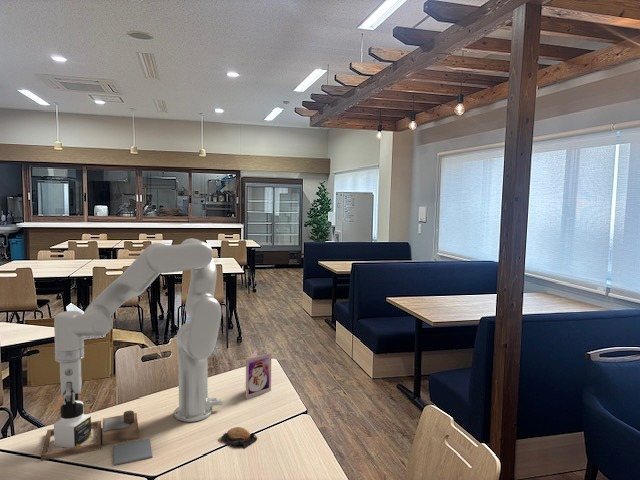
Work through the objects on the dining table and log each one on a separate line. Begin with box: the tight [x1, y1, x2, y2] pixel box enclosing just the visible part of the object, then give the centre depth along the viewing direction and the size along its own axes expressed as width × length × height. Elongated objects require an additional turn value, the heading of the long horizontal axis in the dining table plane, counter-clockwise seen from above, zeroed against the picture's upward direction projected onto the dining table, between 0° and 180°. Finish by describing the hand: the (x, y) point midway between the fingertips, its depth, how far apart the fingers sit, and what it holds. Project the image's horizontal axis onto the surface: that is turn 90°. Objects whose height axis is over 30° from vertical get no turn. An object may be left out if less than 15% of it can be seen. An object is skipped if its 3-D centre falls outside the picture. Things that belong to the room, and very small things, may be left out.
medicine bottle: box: [53, 400, 92, 449], centre depth 135 cm, size 7×7×12 cm
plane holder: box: [40, 410, 140, 461], centre depth 138 cm, size 26×15×6 cm, turn 115°
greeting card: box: [245, 349, 272, 400], centre depth 171 cm, size 11×7×15 cm, turn 132°
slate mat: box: [113, 437, 154, 466], centre depth 131 cm, size 10×10×1 cm
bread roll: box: [217, 426, 258, 449], centre depth 139 cm, size 11×8×4 cm
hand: (71, 409), depth 135 cm, fingers open, 9 cm apart
